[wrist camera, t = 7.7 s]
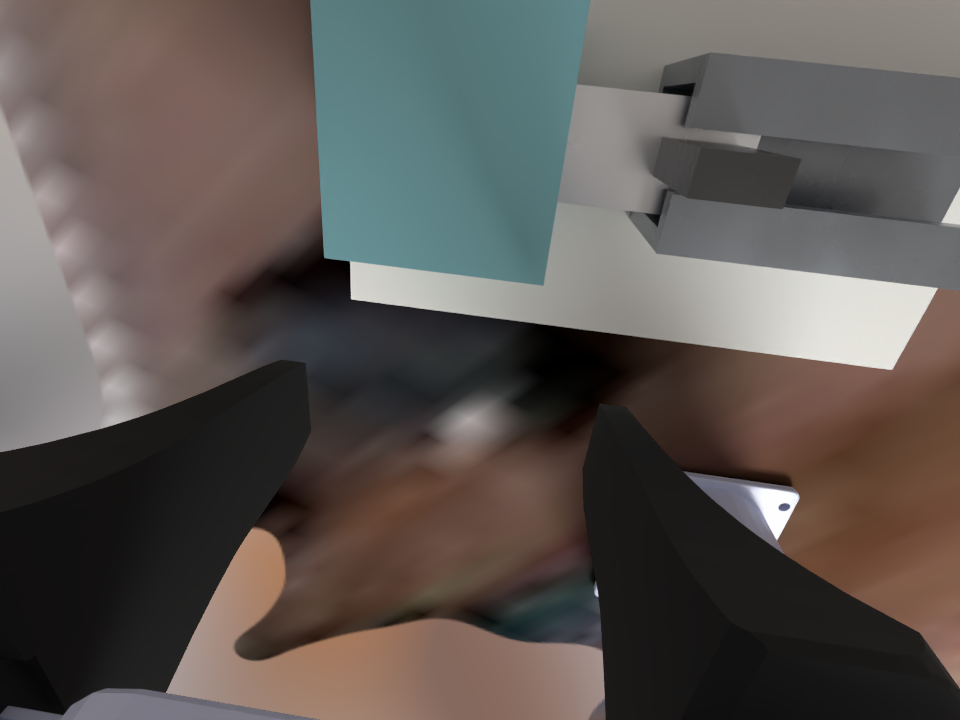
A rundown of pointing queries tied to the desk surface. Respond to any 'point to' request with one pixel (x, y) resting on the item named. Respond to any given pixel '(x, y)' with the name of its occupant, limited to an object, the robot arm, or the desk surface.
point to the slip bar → (662, 156)
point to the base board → (697, 282)
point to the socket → (444, 130)
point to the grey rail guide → (825, 170)
